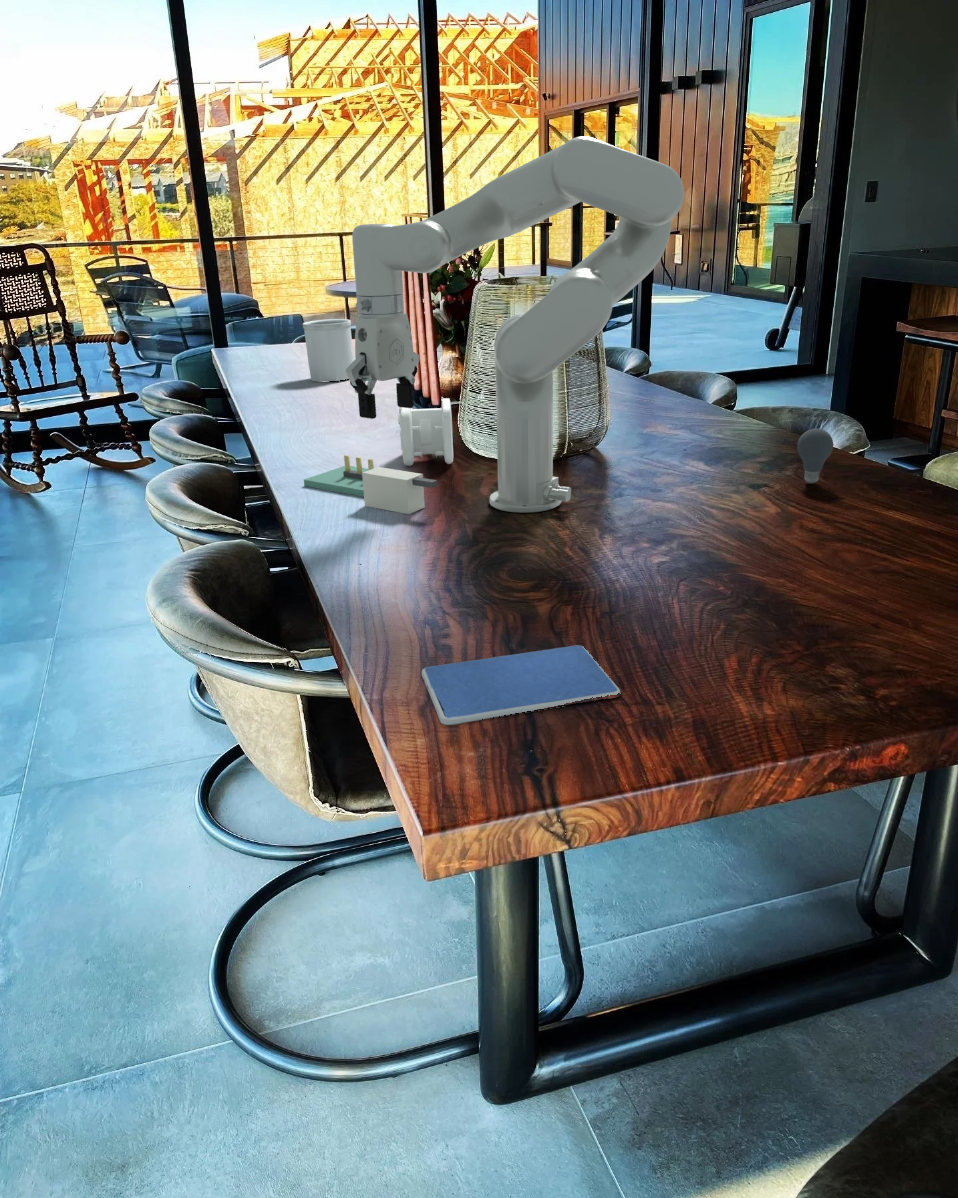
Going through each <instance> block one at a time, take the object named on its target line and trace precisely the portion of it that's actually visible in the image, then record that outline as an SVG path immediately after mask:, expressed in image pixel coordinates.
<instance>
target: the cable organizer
mask: <svg viewBox="0 0 958 1198" xmlns="http://www.w3.org/2000/svg"><path fill="white" fill-rule="evenodd" d="M398 408H399V409H398V415H397V421H398V425H399V428H400V432H399V433H400V447H401V448H400V450H401V451H402V462H403V465H404V466H407V467H411V466H413V465H414V460H415V459H414V458H415V457H421V459H423V455H435V456H436V457H435V458H436V459H438V458H437V456H443V457H444V458H443V459H444V462H445V463H446V464H447V465H451V464H452V463H453V461H454V444H453V443H454V441H453V437H454V436H453V422H452V421H453V419H452V416H453V415H452V405H451V400H450V398H449V397H448V398H447V397H446V398H444V397H443V398H442V400H441V407H440V408H437V407H434V408H414V409H413V408H404V407H398Z"/></svg>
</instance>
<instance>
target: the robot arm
mask: <svg viewBox="0 0 958 1198" xmlns="http://www.w3.org/2000/svg"><path fill="white" fill-rule="evenodd" d="M684 187H685V186H684V184H683V181H682V178H681V177H680V175H679V174H678V172H677V171H676V170H675V169H674V168H672V167H671V166H670V165H667V164H665V163H662V162H659V161H657V160H654V159H651V158H648V157H646V156H643V155H640V154H637V153H634V152H632V151H629V150H625V149H622V148H620V147H618V146H614V145H613V144H611V143H607V142H604V141H602V140H599V139H597V138H594V137H590V136H581V135H580V136H576V137H573V138H571V139H570V140H568V141H566V142H565V143H563V144H561V145H560V146H558V147H555V148H554V149H552V150H550V151H548V152H546V153H544V154H542V155H541V156H537V158H535V159H531V160H530V161H528V162H526V163H524V164H522V165H520V166H518V167H516V168H514V169H512V170H511V171H507V172H506V173H505V174H502V175H500V176H498V177H496V178H494V179H493V180H491V181H489V182H488V183H486V184H485V185H484V186H482V187H481V188H480V189H479V190H478V191H476V192H475V193H473V194H471V195H470V196H468V197H467V198H465V199H462V201H459V202H458V203H455V204H454V205H451V206H450V207H448V208H445V209H444V210H442V211H440V212H438V213H436V214H433V215H432V216H430V217H428V218H426V219H423V220H422V221H421V220H420V221H416V222H412V223H411V222H410V223H407V224H399V225H395V224H391V223H367V224H366V223H365V224H358V225H356V226H355V227H354V228H353V229H352V236H351V239H352V240H351V241H352V253H353V254H352V255H353V268H354V278H355V279H354V280H355V295H356V296H355V297H356V303H355V308H356V310H357V317H356V322H355V333H354V334H355V335H354V336H355V337H354V341H355V342H354V354H355V359H353V360H354V361H353V362H352V363H351V364H350V365H349V366H348V367H347V369H346V374H347V376H348V378H349V380H348V381H349V384H350V386H351V387H352V388H353V389H354V392H355V394H357V396H358V397H357V398H358V399H357V400H358V413H359V417H360V418H364V419H371V420H373V419H376V418H377V409H376V408H377V407H376V406H377V405H376V394H375V393H372V392H373V391H374V388H375V386H376V383H377V381H378V382H385V381H389V380H394V379H397V381H398V382H397V383H395V384H396V386H395V387H396V388H395V390H396V403H397V404H396V405H397V407H398V408H399V407H404V408H412V409H413V408H414V407H415V405H414V401H415V400H414V388H413V387H414V386H413V385H414V384H415V382H416V379H415V378H416V375H417V373H418V368H419V367H418V366H419V362H420V357H421V356H420V354H419V353H416V352H414V345H413V344H414V343H413V337H412V330H411V325H410V321H409V317H408V314H407V313H405V305H404V304H405V303H404V302H405V301H404V285H403V272H409V273H418V274H419V273H420V274H429V273H432V272H435V271H436V270H438V269H439V268H441V267H442V266H444V265H445V264H448V263H449V262H451V261H453V260H455V259H458V258H459V257H461V256H463V255H465V254H467V253H470V252H471V251H474V250H476V249H478V248H480V247H481V246H484V245H486V244H488V243H491V242H494V241H497V240H501V239H504V238H506V239H507V238H509V237H511V236H514V235H515V234H516V235H517V234H518V233H521V232H523V231H524V230H526V229H528V228H530V227H533V226H534V225H536V224H538V223H540V222H542V221H544V220H546V219H549V218H550V217H552V216H554V215H557V214H559V213H561V212H563V211H565V210H567V209H569V208H572V207H573V206H576V205H577V204H579V203H583V204H586V205H588V206H591V207H593V208H596V209H598V210H602V211H605V212H607V213H610V214H613V215H615V216H618V217H620V218H619V222H618V223H617V226H616V228H615V229H614V230H613V232H612V233H611V234H610V236H608V237H607V238H606V239H605V240H604V241H602V243H601V244H600V245H598V246H597V247H596V248H595V249H594V250H593V251H592V252H590V254H588V255H587V256H586V257H585V258H584V259H583V260H581V261H580V262H579V263H577V264H576V265H575V266H574V267H573V268H571V269H570V270H569V271H567V272H566V273H564V274H562V275H561V276H560V277H559V278H558V279H556V280H555V282H554V283H553V284H552V286H551V288H550V289H549V292H548V293H547V294H545V296H544V297H543V298H541V299H540V300H539V301H538V302H536V303H535V304H534V305H533V306H532V307H531V308H530V309H528V310H527V311H526V312H525V313H519V314H515V315H512V316H511V317H508V318H507V319H506V320H505V321H503V322H502V324H501V325H500V327H499V328H498V330H497V332H496V334H495V337H494V346H493V349H494V352H493V353H494V364H495V365H494V368H495V371H494V372H495V403H496V408H495V409H496V442H497V443H496V448H497V449H496V450H497V451H496V453H497V490H496V491H494V492H492V493H491V494H490V496H489V504H490V506H491V507H493V508H495V509H497V510H499V511H504V512H510V513H523V514H527V513H538V512H539V513H540V512H544V511H549V510H553V509H555V508H556V507H559V506H560V505H561V504H562V502H569V501H570V500H571V498H572V487H571V486H570V487H569V486H563V485H562V486H560V484H559V477H558V476H554V475H553V474H554V473H553V472H554V471H553V470H554V463H553V462H554V461H553V460H554V459H553V458H554V455H553V454H554V453H553V451H554V447H553V446H554V437H553V436H554V435H553V434H554V431H553V429H554V428H553V427H554V425H553V423H554V422H553V421H554V382H553V381H554V379H553V378H554V377H553V374H554V373H553V371H555V370H556V369H557V368H559V367H560V366H561V365H562V364H564V363H565V362H566V361H567V360H569V359H570V358H571V357H572V356H573V355H575V354H576V353H577V352H578V351H579V350H581V349H582V348H584V346H585V345H587V344H588V343H589V342H590V341H592V340H593V339H594V338H595V337H597V336H598V334H600V332H601V331H602V330H603V329H604V328H605V326H606V325H607V323H608V321H610V318H611V316H612V311H613V307H614V305H616V303H618V302H619V301H620V300H622V299H623V298H624V297H625V296H626V295H628V293H630V291H632V290H633V289H634V288H635V287H636V286H637V285H639V284H640V283H641V282H642V281H643V280H644V279H646V277H647V276H648V275H649V274H650V273H651V272H652V271H653V270H654V269H655V267H657V265H658V263H659V261H660V260H661V259H662V257H663V255H664V253H665V250H666V248H667V245H668V243H669V239H670V236H671V230H672V222H673V219H674V218H675V217H676V216H677V215H678V213H679V212H680V211H681V208H682V206H683V203H684V198H685V188H684ZM366 382H367V383H366Z"/></svg>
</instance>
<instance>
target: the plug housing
mask: <svg viewBox="0 0 958 1198" xmlns="http://www.w3.org/2000/svg"><path fill="white" fill-rule="evenodd" d="M362 478H363V490H364V497H363V501H364V506H365V507H369V508H375V509H380V510H386V511H391V512H395V513H400V514H405V515H406V514H407V515H410V514H413V513H415V512H418V511H420V510H422V509H424V508H425V506H426V505H425V504H426V503H425V489H424V488H428V489H434V488H437V487H438V480H437V479H430V478H425V477H424V473H418V472H412V471H406V470H401V469H400V470H399V469H396V468H395V469H394V468H388V467H387V468H386V467H381V466H378V467H374V469H371V470H368V471H365V472H363V473H362Z"/></svg>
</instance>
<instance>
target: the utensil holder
mask: <svg viewBox="0 0 958 1198" xmlns="http://www.w3.org/2000/svg"><path fill="white" fill-rule="evenodd" d="M351 326H352V321H351V319H348V318H347V319H346V318H330V319H329V318H328V319H327V318H326V319H317V320H310V321H305V322H303V323H302V328H303V330H304V331H303V332H304V338H305V339H304V340H305V346H306V347H305V348H306V354H307V360H308V361H307V363H308V368H309V373H310V380H311V381H312V380H313V381H312V382H314V381H339V382H341V381H340V380H344V379H349V378H348V376H347V374H346V369H347V367H348V366H349V365H350V364H351V363H352V362H353V361H354V360H355V359H354V350H353V339H352V330H351V329H352V327H351Z"/></svg>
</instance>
